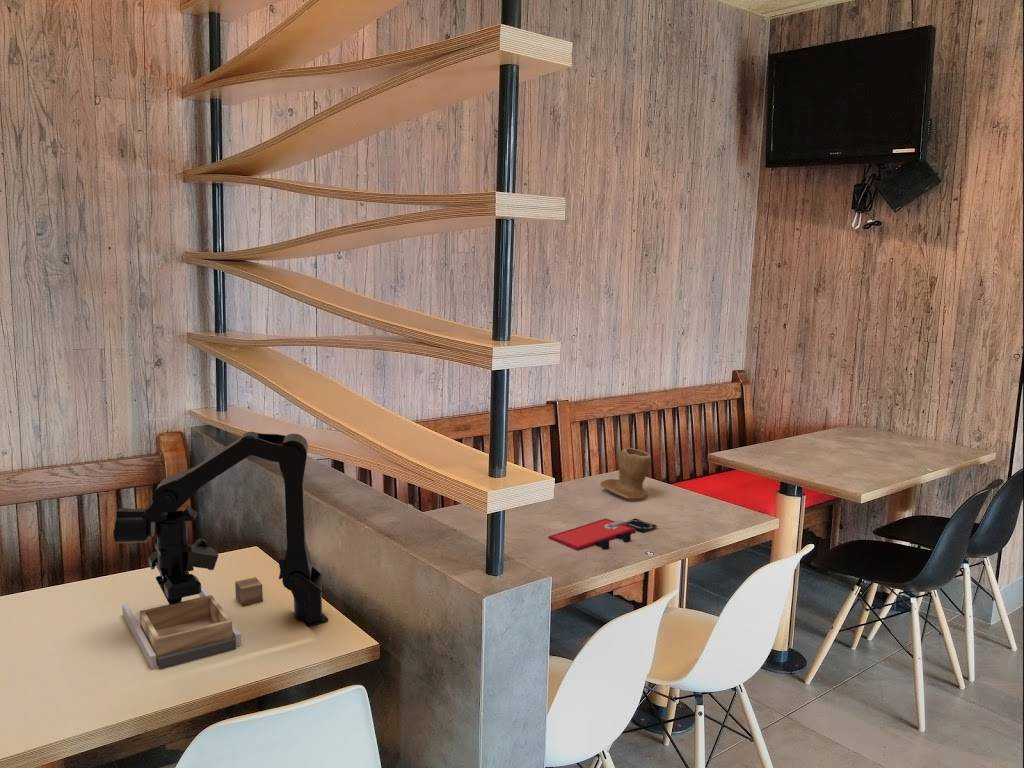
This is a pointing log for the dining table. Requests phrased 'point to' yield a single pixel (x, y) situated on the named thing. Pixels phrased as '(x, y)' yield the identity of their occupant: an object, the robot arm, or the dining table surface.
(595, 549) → the dining table surface
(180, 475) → the robot arm
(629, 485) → the brown boot
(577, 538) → the red board with handle
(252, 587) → the block
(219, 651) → the bay
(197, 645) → the crate
